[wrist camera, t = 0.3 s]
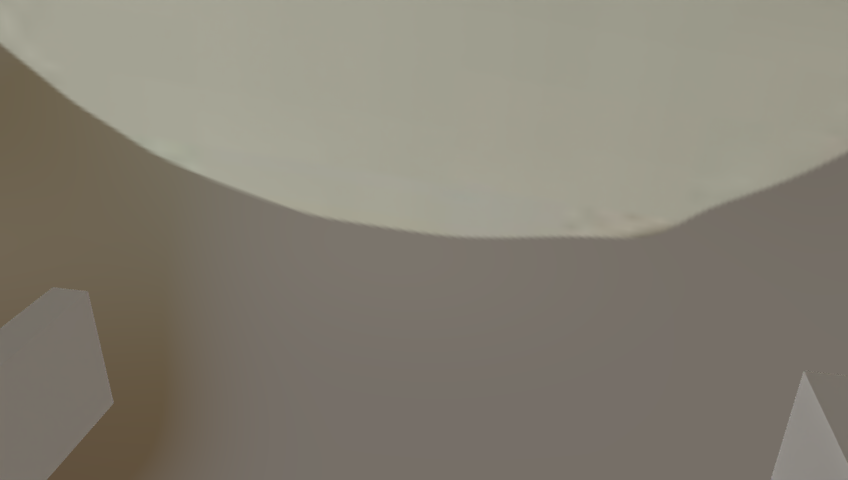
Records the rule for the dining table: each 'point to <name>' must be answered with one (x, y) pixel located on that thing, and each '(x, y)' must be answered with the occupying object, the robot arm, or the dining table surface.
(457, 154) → the dining table surface
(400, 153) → the dining table surface
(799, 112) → the dining table surface
